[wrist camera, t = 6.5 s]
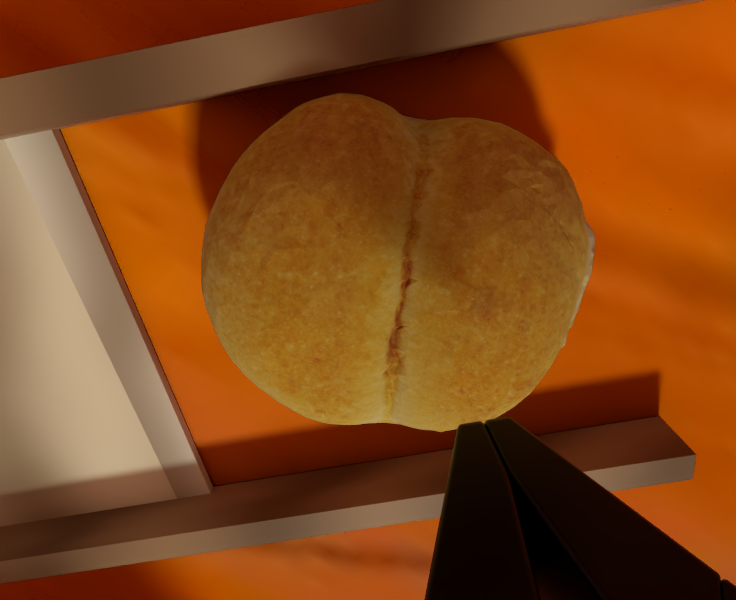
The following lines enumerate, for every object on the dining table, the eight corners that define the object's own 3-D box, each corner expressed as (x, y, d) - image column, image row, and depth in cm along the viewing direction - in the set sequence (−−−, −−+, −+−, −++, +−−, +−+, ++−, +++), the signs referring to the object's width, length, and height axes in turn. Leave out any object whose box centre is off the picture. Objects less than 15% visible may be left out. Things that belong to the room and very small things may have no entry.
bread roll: (223, 72, 10) (164, 54, 7) (586, 140, 11) (706, 157, 8) (209, 380, 13) (164, 484, 10) (496, 408, 15) (552, 510, 11)
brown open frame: (709, -52, 10) (855, -114, 7) (657, 439, 16) (726, 517, 13) (-335, 160, 11) (-580, 183, 8) (-32, 546, 17) (-113, 641, 14)
